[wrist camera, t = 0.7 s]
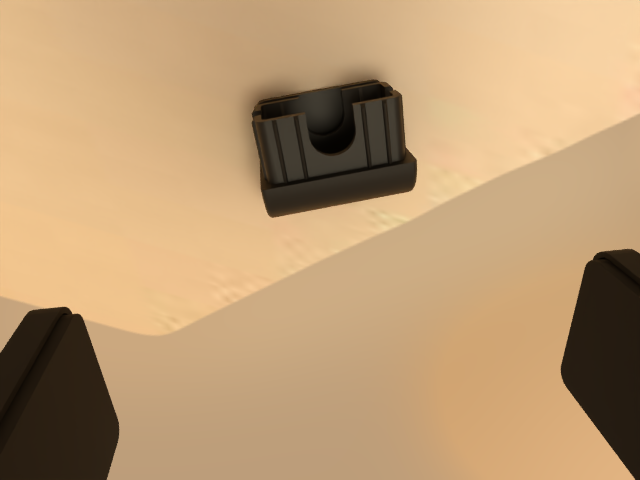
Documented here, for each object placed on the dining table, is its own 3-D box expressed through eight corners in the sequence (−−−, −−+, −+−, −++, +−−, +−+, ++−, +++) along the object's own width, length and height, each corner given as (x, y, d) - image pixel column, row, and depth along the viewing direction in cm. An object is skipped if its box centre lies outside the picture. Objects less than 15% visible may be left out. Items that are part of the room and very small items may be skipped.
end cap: (268, 194, 38) (270, 233, 32) (247, 102, 35) (246, 127, 29) (395, 170, 39) (420, 205, 33) (387, 76, 35) (413, 96, 29)
